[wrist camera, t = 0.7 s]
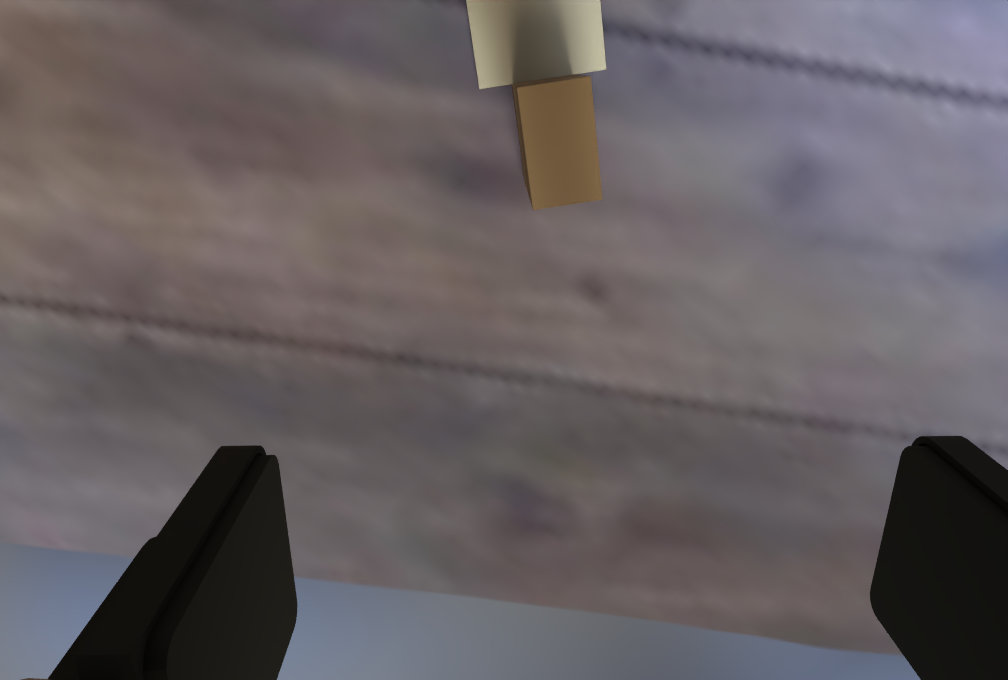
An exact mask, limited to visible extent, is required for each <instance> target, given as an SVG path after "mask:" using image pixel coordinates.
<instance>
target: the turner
mask: <svg viewBox="0 0 1008 680" xmlns="http://www.w3.org/2000/svg"><path fill="white" fill-rule="evenodd" d="M466 2H467V9H468V15H469V22H470V29H471V35H472V42H473V49H474V55H475V62H476V69H477V75H478V82H479V89H483V88H490V87H496V86H503V85H509V84H512V89H513V97H514V104H515V112H516V119H517V126H518V134H519V141H520V149H521V156H522V164H523V171H524V179H525V184H526V188H527V191H528V195H529V198H530V201H531V205H532V208H533V210H536V209H542V208H549V207H556V206H562V205H569V204H576V203H582V202H589V201H596V200H602V190H601V180H600V169H599V159H598V148H597V138H596V127H595V117H594V107H593V96H592V86H591V76H583V75H573V74H580V73H586V72H592V71H599V70H605V69H606V62H605V51H604V39H603V28H602V16H601V5H600V0H466Z"/></svg>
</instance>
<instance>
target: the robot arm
mask: <svg viewBox="0 0 1008 680" xmlns="http://www.w3.org/2000/svg"><path fill="white" fill-rule="evenodd" d="M870 601H871V605H872V609H873V611H874V613H875V615H876V617H877V619H878V620H879V621H880V623H881V624H882V626H883V627H884V628H885V630H886V631H887V633H888V634H889V635H890V637H891V638H892V640H893V641H894V642H895V644H896V645H897V647H898V648H899V649H900V651H901V652H902V654H903V655H904V656H905V658H906V659H907V661H908V662H909V663H910V665H911V666H912V668H913V669H914V671H915V672H916V673H917V675H918V676H919V677H920V679H921V680H1008V470H1007V469H1005V468H1004V467H1003V466H1001V465H1000V464H999V463H997V462H996V461H995V460H994V459H992V458H991V457H990V456H988V455H987V454H986V453H984V452H983V451H982V450H981V449H979V448H978V447H977V446H975V445H974V444H973V443H971V442H970V441H969V440H968V439H966V438H964V437H962V436H921V437H919V438H917V439H916V440H915V441H914V442H913V443H912V446H908V447H906V448H905V449H904V450H903V451H902V454H901V457H900V461H899V465H898V470H897V474H896V479H895V483H894V487H893V492H892V496H891V501H890V505H889V510H888V514H887V518H886V523H885V527H884V532H883V536H882V541H881V545H880V549H879V554H878V558H877V563H876V567H875V571H874V576H873V580H872V585H871V590H870ZM296 617H297V598H296V590H295V582H294V574H293V567H292V559H291V552H290V544H289V537H288V529H287V522H286V514H285V507H284V499H283V492H282V484H281V477H280V469H279V463H278V459H277V457H276V456H275V455H266V453H265V450H264V448H263V447H262V446H221V447H220V448H219V449H218V450H217V452H216V453H215V454H214V456H213V457H212V459H211V460H210V461H209V463H208V464H207V466H206V467H205V469H204V470H203V471H202V473H201V474H200V476H199V477H198V479H197V480H196V481H195V483H194V484H193V486H192V487H191V488H190V490H189V491H188V493H187V494H186V496H185V497H184V498H183V500H182V501H181V503H180V504H179V506H178V507H177V508H176V510H175V511H174V513H173V514H172V515H171V517H170V518H169V520H168V521H167V523H166V524H165V525H164V527H163V528H162V530H161V531H160V533H159V534H158V535H157V537H154V538H151V539H149V540H148V541H147V543H146V544H145V545H144V546H143V547H142V548H141V550H140V551H139V552H138V554H137V555H136V557H135V558H134V559H133V561H132V562H131V564H130V565H129V566H128V568H127V569H126V571H125V572H124V573H123V575H122V576H121V578H120V579H119V581H118V582H117V583H116V584H115V586H114V587H113V589H112V590H111V592H110V593H109V594H108V596H107V597H106V599H105V600H104V601H103V603H102V604H101V605H100V607H99V608H98V610H97V611H96V612H95V614H94V615H93V617H92V618H91V620H90V621H89V622H88V624H87V625H86V626H85V628H84V629H83V631H82V632H81V633H80V635H79V636H78V637H77V639H76V640H75V642H74V643H73V644H72V646H71V647H70V649H69V650H68V651H67V653H66V654H65V656H64V657H63V658H62V660H61V661H60V663H59V664H58V665H57V667H56V668H55V670H54V671H53V672H52V674H51V675H50V676H49V678H48V679H33V678H27V679H22V680H277V677H278V674H279V671H280V668H281V665H282V662H283V660H284V657H285V653H286V651H287V648H288V645H289V642H290V639H291V636H292V633H293V630H294V627H295V623H296Z"/></svg>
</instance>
